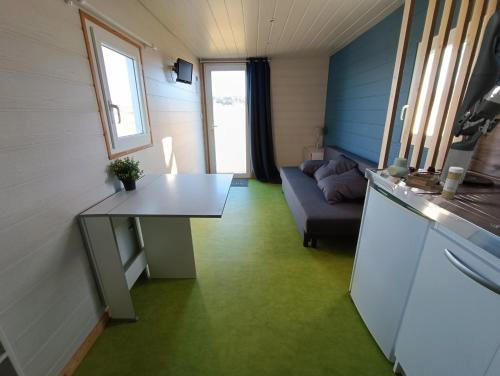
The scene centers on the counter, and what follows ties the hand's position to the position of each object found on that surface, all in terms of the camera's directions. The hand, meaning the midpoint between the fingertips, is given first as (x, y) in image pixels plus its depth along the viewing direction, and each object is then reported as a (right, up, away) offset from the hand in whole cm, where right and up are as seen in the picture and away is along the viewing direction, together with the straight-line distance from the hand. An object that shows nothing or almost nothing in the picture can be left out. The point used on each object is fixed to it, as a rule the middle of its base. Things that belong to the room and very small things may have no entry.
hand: (464, 138), depth 98 cm
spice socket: (-6, -21, +15) cm, 26 cm away
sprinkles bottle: (-5, -26, +2) cm, 26 cm away
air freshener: (-8, -15, +33) cm, 37 cm away
